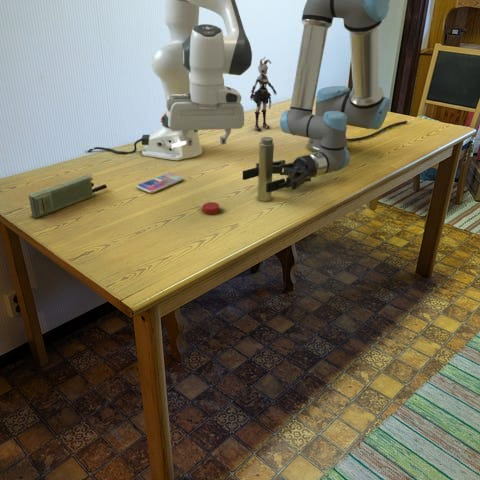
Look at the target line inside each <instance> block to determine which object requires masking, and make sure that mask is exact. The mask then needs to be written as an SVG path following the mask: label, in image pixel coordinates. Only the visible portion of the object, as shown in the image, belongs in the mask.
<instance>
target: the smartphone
mask: <svg viewBox="0 0 480 480" xmlns="http://www.w3.org/2000/svg"><path fill="white" fill-rule="evenodd" d="M182 181H184V177H183V176H180V175H179V174H174V173H172V172H166V173H163V174H161V175H159V176H156V177H154V178H151V179H149V180H146V181H143V182H141V183H138V184H137V185H136V188H137V189H139V190H141V191H143V192H145V193H148V194H154V193H156V192H158V191H160V190H161V191H162V190H164V189H166V188H168V187H170V186H172V185H175V184H177V183H180V182H182Z"/></svg>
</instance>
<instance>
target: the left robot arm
mask: <svg viewBox="0 0 480 480" xmlns="http://www.w3.org/2000/svg"><path fill="white" fill-rule="evenodd" d="M200 8H202V9H206V10H208V11H211V12H213V13H216V14H217V15H219V17H220V18H222V20H223V23H224V28H225V30H226V32H227V35H224V31H223V30H222V28H221V27H219V26H217V25H213V24H207V23H205V24H203V23H202V24H199V21H200V19H199V17H200ZM164 10H165V11H164V22H165V26H167V27H168V31H169V35H170V44H167V45H163V46H162V47H160V48H159V49H158V50H156V51H155V53H154V54H153V55H152V58H151V68H152V71H153V73H154V74H155V75H156V76H157V77H158V79H159V80H160V82H161V85H162V89H163V92H164V99H165V113H163V114H162V116H161V118H160V123H161V125H159V127H157V128H156V129H155V130H154V131H152V132H151V133H150V134H142V136H141V138H140V139H137V140H136V141H135V142H134V144H133V147H134V149H133V150H131V151H123V150H122V151H121V150H115V149H113V148H109V147H102V146H94V147H95V148H94V147H93V148H94V149H91V148H90V149H88V150H87V153H91V152H92V151H94V150H102V151H110V152H113V153H114V154H122V155H123V154H124V155H128V154H129V155H130V154H134V153H135V152H136V151H137V150H138V149H137V148H138V147H137V144H139V143H140V142H141V145H142V146H144V147H143V148H142V150H141V155H142V156H145V157H152V158H157V159H164V160H170V161H176V162H178V161H182V160H185V159H190V158H191V159H192V158H196V157H198V156H200V155H202V153H203V149H202V148H203V147H202V145H201V142H200V134H199V131H207V130H208V131H210V130H224V133H223V135H222V136H220V137H219V144H220V145H225V146H226V145H227V142H228V141H227V140H228V138H229V137H230V135H231V133H232V130H234V129H236V130H239V129H242V128H243V127H244V125H245V109H244V106H243V104H242V103H241V102H242V94H241V93H240V92H239V91H238V90H237V89H235V88H233V87H229V86H226V85H225V79H224V75H233V76H242V75H243V74H244V73H246V71H248V70H249V69H250V68H251V66H252V61H253V50H252V46H251V43H250V40H249V38H248V36H247V35H246V32H245V28H244V25H243V22H242V19H241V15H240V12H239V8H238V5H237V2H236V0H165V9H164Z"/></svg>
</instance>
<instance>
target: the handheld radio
mask: <svg viewBox="0 0 480 480" xmlns="http://www.w3.org/2000/svg"><path fill="white" fill-rule="evenodd" d="M92 176H93V174H91V173H88V174H85V175H83V176H79V177H76V178H74V179H71V180H68V181H65V182H62V183H59V184H57V185H54V186H50V187H47V188H44V189H42V190H39V191H37V192H33V193H30V194H28V200H29V206H30V210H31V216H32V217H34V218H35V219H36V218H39V217H42V216H45V215H47V214H50V213H53V212H56V211H58V210H60V209H63V208H66V207H68V206H72V205H73V204H76V203H80V202H82V201H84V200H87V199H90V198H93V196H95V195H96V194H95V193H97V192H100V191H102V190H106V189H107V188H108V186H107V184H102V185H99V186H96V187H94V186H95V183H94V182H92V181H93V180H94V178H93V177H92ZM93 187H94V188H93Z"/></svg>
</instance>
